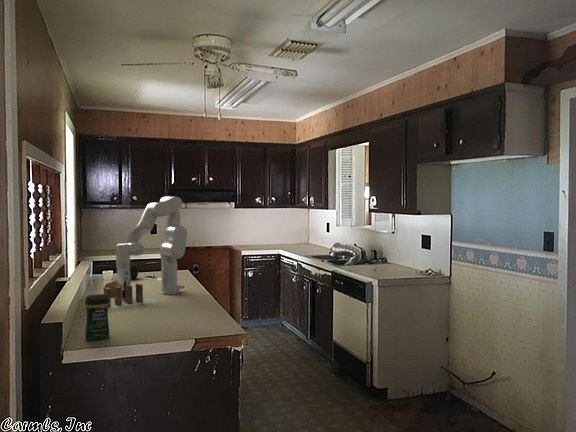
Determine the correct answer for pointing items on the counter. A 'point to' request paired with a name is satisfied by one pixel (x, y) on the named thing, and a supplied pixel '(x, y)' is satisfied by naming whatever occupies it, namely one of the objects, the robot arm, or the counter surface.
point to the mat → (133, 303)
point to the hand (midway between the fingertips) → (123, 296)
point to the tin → (112, 287)
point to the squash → (133, 270)
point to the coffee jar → (97, 317)
